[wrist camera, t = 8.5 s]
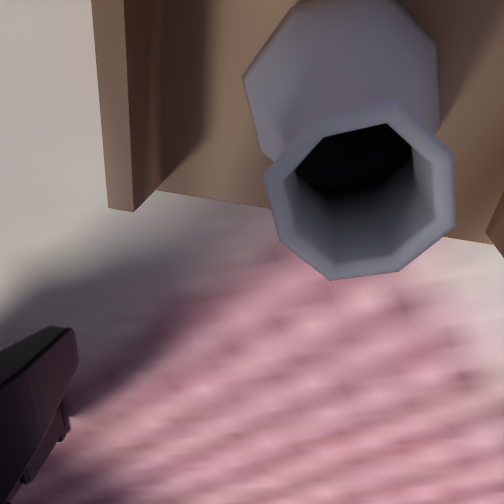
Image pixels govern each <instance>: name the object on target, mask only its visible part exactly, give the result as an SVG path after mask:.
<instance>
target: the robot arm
mask: <svg viewBox="0 0 504 504" xmlns="http://www.w3.org/2000/svg"><path fill="white" fill-rule="evenodd" d="M77 365H78V351H77V344H76V338H75V333H74V330H73V329H72V328H70V327H65V326H60V325H50V326H48V327H46V328H44V329H42V330H40V331H38V332H36V333H34V334H32V335H30V336H28V337H26V338H24V339H22V340H20V341H18V342H16V343H14V344H12V345H10V346H8V347H7V348H5V349H3V350H1V351H0V504H11V503H10V502H11V501H12V499H13V498H14V496H15V494H16V493H17V491H18V490H19V488H20V487H21V485H22V484H23V483H24V484H29V483H30V482H31V481H32V480H33V479H34V477H35V476H36V474H37V473H38V471H39V469H40V468H41V466H42V465H43V463H44V461H45V460H46V458H47V457H48V455H49V453H50V452H51V450H52V449H53V447H54V446H55V444H56V442H61V441H63V439H64V438H65V436H66V432H65V427H64V422H63V418H62V413H61V408H60V403H61V401H62V398H63V396H64V394H65V392H66V390H67V388H68V386H69V384H70V381H71V379H72V377H73V375H74V373H75V371H76V368H77Z"/></svg>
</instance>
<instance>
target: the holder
mask: <svg viewBox="0 0 504 504" xmlns="http://www.w3.org/2000/svg"><path fill="white" fill-rule="evenodd" d="M309 1H312V0H91V3H92V16H93V28H94V40H95V52H96V64H97V76H98V88H99V100H100V113H101V125H102V137H103V149H104V161H105V173H106V185H107V198H108V208H112V209H118V210H124V211H130V212H134V211H135V210H136V209H137V208H138V207H139V206H140V205H141V204H142V203H143V202H144V201H145V200H146V199H147V198H148V197H149V196H150V195H151V194H152V193H153V192H154V191H155V190H159V191H165V192H171V193H178V194H184V195H190V196H196V197H202V198H208V199H215V200H221V201H227V202H233V203H239V204H245V205H252V206H258V207H264V208H270V209H271V206H270V202H269V198H268V195H267V191H266V187H265V183H264V179H263V176H264V173H265V172H266V171H267V169H268V168H269V167H270V166H271V165H272V164H273V161H272V160H271V159H270V158H269V157H267V156H266V155H265V154H264V153H263V152H261V151H260V148H259V144H258V140H257V136H256V132H255V128H254V125H253V121H252V117H251V113H250V109H249V105H248V101H247V97H246V93H245V89H244V86H243V82H242V78H241V77H242V75H243V74H244V72H245V71H246V70H247V68H248V67H249V65H250V64H251V63H252V61H253V60H254V58H255V57H256V55H257V54H258V53H259V51H260V50H261V48H262V47H263V46H264V44H265V43H266V41H267V40H268V39H269V37H270V36H271V34H272V33H273V32H274V30H275V29H276V27H277V26H278V25H279V23H280V22H281V20H282V19H283V18H284V16H285V15H286V13H287V12H288V10H289V9H290V8H291V7H293V6H296V5H299V4H302V3H305V2H309ZM397 1H398V2H399V3H400V4H401V5H402V6H403V7H404V8H405V9H406V10H407V11H408V12H409V13H410V14H411V15H412V16H413V17H414V18H415V19H416V20H417V21H418V22H419V23H420V24H421V25H422V26H423V27H424V28H425V29H426V30H427V31H428V32H429V33H430V34H431V35H432V36H433V38H434V39H435V40H436V41H437V43H438V63H439V84H440V104H441V124H442V125H441V127H440V128H439V130H438V131H437V132H436V133H435V134H434V135H435V136H437V137H438V138H439V139H440V140H441V141H442V142H443V143H444V144H445V145H446V146H447V147H448V148H449V149H450V150H451V151H452V153H453V154H454V173H455V200H456V227H455V228H453V229H452V230H451V231H450V232H448V233H447V234H446V235H445V236H443V237H449V238H455V239H461V240H468V241H474V242H480V243H486V244H492V245H495V247H496V248H497V249H498V251H499V252H500V253H501V255H502V256H503V257H504V0H397Z"/></svg>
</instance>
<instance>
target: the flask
mask: <svg viewBox="0 0 504 504" xmlns="http://www.w3.org/2000/svg"><path fill="white" fill-rule="evenodd" d="M241 78H242V82H243V86H244V89H245V93H246V97H247V101H248V105H249V109H250V113H251V117H252V121H253V125H254V128H255V132H256V136H257V140H258V144H259V148H260V151H261V152H263V153H264V154H265V155H266V156H267V157H269V158H270V159H271V160H272V161H273V164H272V165H271V166H270V167H269V168H268V169H267V171H266V172H265V173H264V176H263V179H264V183H265V187H266V191H267V195H268V198H269V202H270V206H271V210H272V214H273V218H274V221H275V225H276V229H277V233H278V237H279V240H280V242H281V243H282V244H284V245H285V246H286V247H287V248H289V249H290V250H291V251H293V252H294V253H295V254H296V255H298V256H299V257H300V258H301V259H303V260H304V261H305V262H307V263H308V264H309V265H310V266H312V267H313V268H314V269H316V270H317V271H318V272H319V273H321V274H322V275H323V276H324V277H326V278H327V279H328V280H330V281H332V280H339V279H347V278H354V277H362V276H369V275H377V274H385V273H392V272H399V271H400V270H401V269H403V268H404V267H405V266H406V265H408V264H409V263H410V262H411V261H413V260H414V259H415V258H417V257H418V256H419V255H420V254H422V253H423V252H424V251H425V250H427V249H428V248H429V247H431V246H432V245H433V244H434V243H436V242H437V241H438V240H439V239H441V238H442V237H443V236H445V235H446V234H447V233H448V232H450V231H451V230H452V229H453V228H455V227H456V200H455V173H454V154H453V153H452V151H451V150H450V149H449V148H448V147H447V146H446V145H445V144H444V143H443V142H442V141H441V140H440V139H439V138H438V137H437V136H435V135H434V134H435V133H436V132H437V131H438V130H439V128H440V127H441V125H442V124H441V104H440V84H439V63H438V43H437V41H436V40H435V39H434V38H433V36H432V35H431V34H430V33H429V32H428V31H427V30H426V29H425V28H424V27H423V26H422V25H421V24H420V23H419V22H418V21H417V20H416V19H415V18H414V17H413V16H412V15H411V14H410V13H409V12H408V11H407V10H406V9H405V8H404V7H403V6H402V5H401V4H400V3H399V2H398V1H397V0H312V1H309V2H305V3H302V4H299V5H296V6H293V7H291V8H290V9H289V10H288V12H287V13H286V15H285V16H284V18H283V19H282V20H281V22H280V23H279V25H278V26H277V27H276V29H275V30H274V32H273V33H272V34H271V36H270V37H269V39H268V40H267V41H266V43H265V44H264V46H263V47H262V48H261V50H260V51H259V53H258V54H257V55H256V57H255V58H254V60H253V61H252V63H251V64H250V65H249V67H248V68H247V70H246V71H245V72H244V74H243V75H242V77H241Z"/></svg>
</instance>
